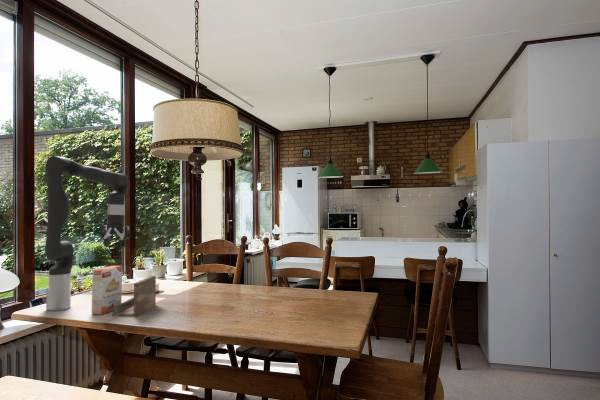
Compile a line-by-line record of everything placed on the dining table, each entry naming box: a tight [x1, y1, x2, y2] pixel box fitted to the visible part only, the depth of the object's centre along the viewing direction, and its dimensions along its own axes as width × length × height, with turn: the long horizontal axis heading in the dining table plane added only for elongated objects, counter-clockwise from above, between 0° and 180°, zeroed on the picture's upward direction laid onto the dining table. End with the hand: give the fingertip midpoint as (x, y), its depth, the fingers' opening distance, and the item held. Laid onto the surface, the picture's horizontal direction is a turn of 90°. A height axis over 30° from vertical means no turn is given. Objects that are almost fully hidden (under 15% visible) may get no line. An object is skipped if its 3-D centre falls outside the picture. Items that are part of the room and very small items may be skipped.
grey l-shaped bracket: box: [111, 275, 157, 317], centre depth 180 cm, size 12×20×15 cm, turn 179°
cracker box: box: [91, 265, 123, 316], centre depth 180 cm, size 14×6×21 cm, turn 168°
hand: (114, 247), depth 181 cm, fingers open, 8 cm apart
